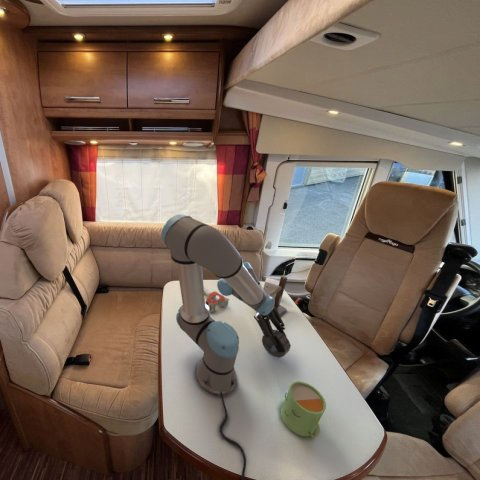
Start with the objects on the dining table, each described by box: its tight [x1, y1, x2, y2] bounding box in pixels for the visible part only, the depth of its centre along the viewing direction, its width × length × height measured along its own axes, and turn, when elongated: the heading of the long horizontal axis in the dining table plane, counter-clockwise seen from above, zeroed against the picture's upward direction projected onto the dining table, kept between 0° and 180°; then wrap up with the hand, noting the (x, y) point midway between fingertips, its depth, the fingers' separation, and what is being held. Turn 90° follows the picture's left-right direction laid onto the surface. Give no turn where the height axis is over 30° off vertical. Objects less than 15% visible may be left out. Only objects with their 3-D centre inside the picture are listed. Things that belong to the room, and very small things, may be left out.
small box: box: [263, 277, 280, 300], centre depth 138 cm, size 8×6×10 cm
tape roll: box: [261, 329, 291, 359], centre depth 100 cm, size 10×4×10 cm, turn 37°
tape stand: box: [267, 275, 288, 316], centre depth 123 cm, size 18×10×20 cm, turn 127°
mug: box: [280, 380, 327, 438], centre depth 76 cm, size 13×10×12 cm
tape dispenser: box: [204, 287, 230, 313], centre depth 133 cm, size 18×5×20 cm
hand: (284, 348), depth 97 cm, fingers closed on tape roll, 4 cm apart
